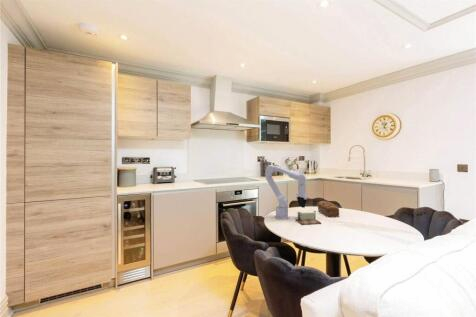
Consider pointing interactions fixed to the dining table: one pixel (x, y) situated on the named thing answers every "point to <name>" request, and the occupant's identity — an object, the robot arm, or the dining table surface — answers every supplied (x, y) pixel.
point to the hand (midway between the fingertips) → (301, 206)
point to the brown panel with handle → (307, 220)
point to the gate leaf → (307, 215)
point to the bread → (328, 209)
